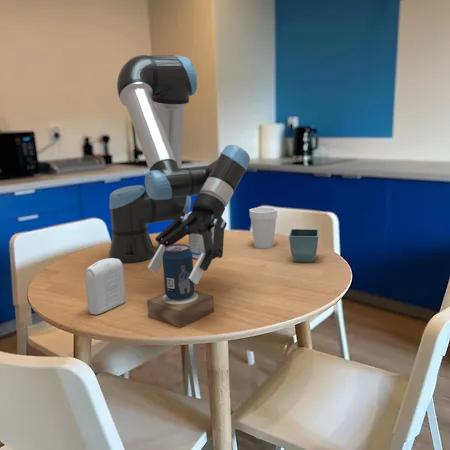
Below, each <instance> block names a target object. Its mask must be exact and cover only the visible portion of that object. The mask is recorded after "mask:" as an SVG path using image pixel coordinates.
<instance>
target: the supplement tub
mask: <svg viewBox="0 0 450 450" xmlns="http://www.w3.org/2000/svg"><path fill="white" fill-rule="evenodd" d="M191 212H192V211H189V213H188V214H187V215H189V214H190V213H191ZM214 227H215V226H214ZM214 227H213V228H211V232H212V241H213V239H214ZM188 244H189V245H188V246H189V249H190V251H191V252H192V257H193V259H196V260H198V259H199V257H200V255H201V253H204V254H205V255H206V253H205V252H204V251H205V248H204V242H203V237H202V235H199V234H193V233H192V234H190V235H188Z"/></svg>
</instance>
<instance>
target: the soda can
mask: <svg viewBox="0 0 450 450" xmlns="http://www.w3.org/2000/svg"><path fill="white" fill-rule="evenodd" d="M162 257H163V262H162V269H163V271H162V272H163V283H164V293H165V294H166V295H167V297H168V298H169V299H170V300H173V301H183V300H187V299H189V298H191V297H192V295H193V293H194V290H195V283H193V282H192V281H191V280H190V279H189V276H190V274H191V272H192V270H193V268H194V260H193V259H194V258H193V257H192V252H191V251H190V249H189V245H188V244H185V243H184V244H183V243H181V244H180V243H177V244H176V243H174V244H173V245H169V246H167V247H165V251H164V253H163V256H162Z"/></svg>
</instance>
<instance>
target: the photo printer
mask: <svg viewBox="0 0 450 450" xmlns="http://www.w3.org/2000/svg"><path fill="white" fill-rule="evenodd" d="M124 278H125V277H124V265H123V263H121V261H120V260H119V259H115V258H110V257H108V258H102V259H100V260H97V261H95V262H94V263H92V264H91V265H90V266H88V267H87V268H86V269H85V271H84V280H85V290H86V300H87V301H86V302H87V308H88V312H89V313H90V314H92V315H100V314H102V313H105V312H107V311H109V310H112V309H113V308H114V309H115V308H116V307H118V306H120V305H123V304H124V303H126V289H125V279H124Z"/></svg>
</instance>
